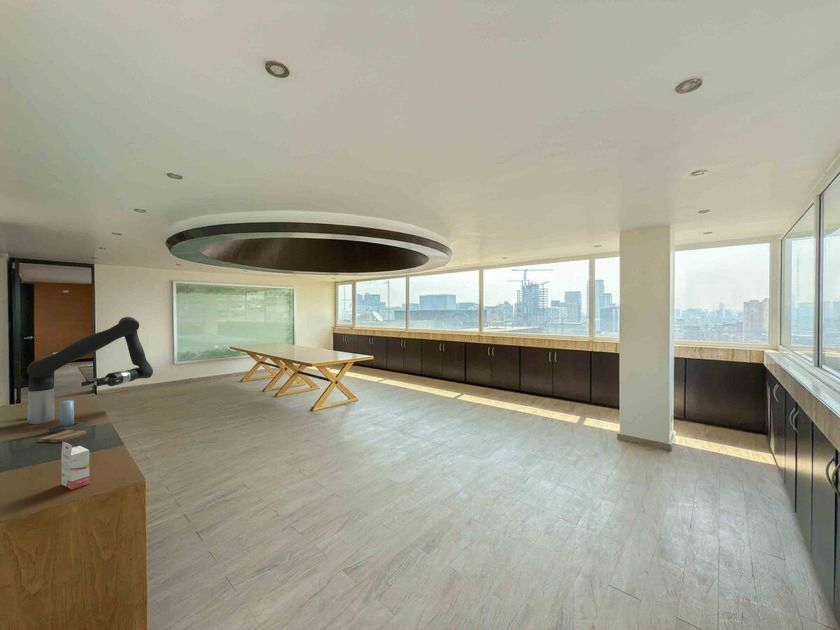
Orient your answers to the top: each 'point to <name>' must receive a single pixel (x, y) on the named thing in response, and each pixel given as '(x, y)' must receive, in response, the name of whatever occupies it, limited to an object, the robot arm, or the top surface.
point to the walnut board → (62, 436)
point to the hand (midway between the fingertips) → (89, 384)
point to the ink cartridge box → (75, 466)
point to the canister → (66, 413)
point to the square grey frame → (76, 425)
